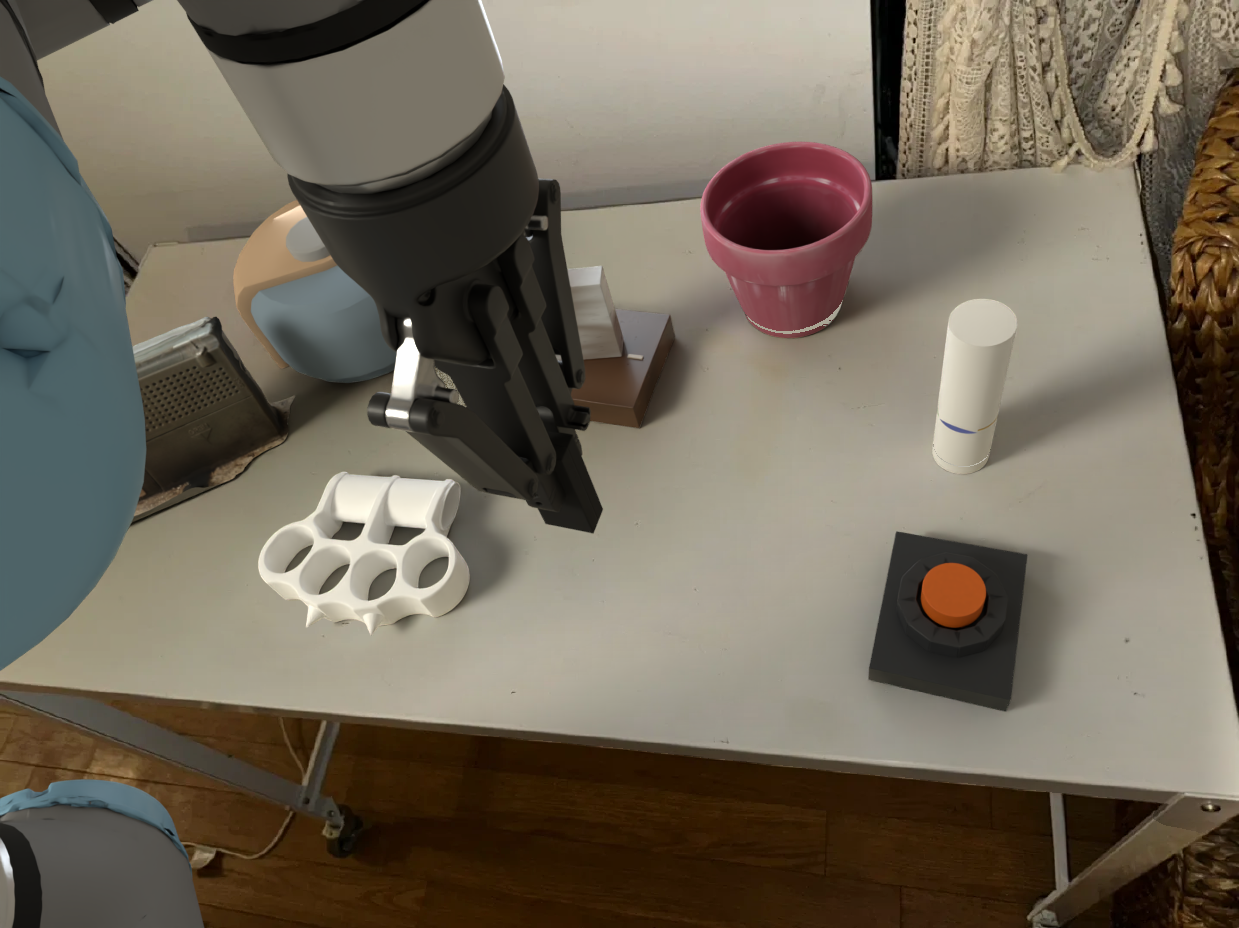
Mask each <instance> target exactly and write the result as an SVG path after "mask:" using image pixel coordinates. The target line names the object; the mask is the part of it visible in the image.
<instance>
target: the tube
mask: <svg viewBox="0 0 1239 928" xmlns="http://www.w3.org/2000/svg"><path fill="white" fill-rule="evenodd" d="M1017 328H1018V318H1017V316H1016V314H1015V312H1014V311H1013V310H1012V309H1011V308H1010V307H1009V306H1008V305H1006V304H1004V303H1003V302H1001V301H998V300H994V299H991V298H974V299H969V300H966V301H964V302H961V303H959V304H958V305H957V306H956V307H955V308H953V309H952V311H951V312H950V314H949V316H948V321H947V328H946V337H945V345H944V353H943V361H942V367H941V377H940V385H939V393H938V401H937V409H936V417H935V425H934V432H933V439H932V445H933V444H934V447H933V446H932V448H931V449H932V450H931V453H932V454H931V455H932V457H933V459H934V461H935V463H936V464H937V465H938V466H939V467H940V468H941V469H943V470H945V471H947V472H949V473H952V474H955V475H956V474H957V475H968V474H969V475H970V474H973V473H976V472H978V471H979V470H981V469H983V468H984V467H985V465H987V464H988V461H989V459H990V455H991V450H990V449H992V444H993V440H994V435H995V431H996V426H997V423H998V422H997V421H998V416H999V413H1000V412H999V411H1000V407H1001V403H1002V398H1003V394H1004V389H1005V385H1006V379H1007V375H1008V370H1009V365H1010V361H1011V358H1012V357H1011V356H1012V351H1013V348H1014V347H1013V346H1014V342H1015V339H1016V333H1017ZM934 449H935V450H934ZM935 451H936V452H935ZM989 452H990V453H989ZM936 453H937V454H936ZM988 454H989V455H988ZM937 455H938V456H939V457H940V458H942V459H943V460H944V461H946V462H948V463H951V464H954V465H957V466H953V465H950V464H948V463H946V462H944V461H943V460H941V459H940V458H939V457H938V456H937ZM987 455H988V456H987ZM986 457H987V458H986ZM984 458H986V459H985V460H984V461H982V460H983V459H984ZM980 461H982V462H981V463H979V462H980ZM976 463H979V464H977V465H974V464H976ZM970 465H974V466H970ZM958 466H970V467H958Z"/></svg>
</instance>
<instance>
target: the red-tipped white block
mask: <svg viewBox="0 0 1239 928" xmlns="http://www.w3.org/2000/svg"><path fill="white" fill-rule="evenodd" d="M567 270H568V276H569V281H570V287H571V292H572V298H573V304H574V309H575V315H576V321H577V326H578V332H579V337H580V343H581V349H582V354H583V360H586V359H598V358H610V357H621V356H622V351H623V340H624V338H623V335H622V331H621V328H620V324H619V321H618V318H617V314H616V311H615V309H616V307H615V303H614V301H613V297H612V294H611V289H610V287H609V284H608V281H607V276H606V273H605V269H604V266H603V265H595V266H586V267H577V268H576V267H575V268H567ZM556 358H557V360H559V361H562V360H561V355H556Z"/></svg>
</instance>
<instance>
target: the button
mask: <svg viewBox="0 0 1239 928" xmlns="http://www.w3.org/2000/svg"><path fill="white" fill-rule="evenodd" d="M985 598H986V588H985V584H984V582H983V580H982V578H981V577H980V576H979V575H978V574H977V573H976V572H975V571H974V570H973V569H971V568H969V567H967V566H965V565H962V564H958V563H945V564H941V565H938V566H936V567H934V568H933V569H931V570H930V571H929V572H928V573H927V575H926V576H925V578H924V580H923V585H922V592H921V604H922V607H923V609H924V611H925V613H926V614H927V615H928V616H929V618H931V619H932V620H933V621H935V622H936V623H938V624H940V625H943V626H946V627H951V628H958V627H964V626H967V625H969V624H971V623H973V622H974V621H975V620H976V619H977V618H978V617H979V616H980V614H981V612H982V609H983V605H984V602H985Z"/></svg>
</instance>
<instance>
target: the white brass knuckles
mask: <svg viewBox="0 0 1239 928" xmlns="http://www.w3.org/2000/svg"><path fill="white" fill-rule="evenodd" d="M461 490H462V489H461V484H460V483H459V482H458V481H454V479H452V478H451V479H450V478H446V479H445V480H437V479H435V480H434V479H432V480H431V479H423V478H408V477H406V478H405V477H401V476H400V475H396V474H395V475H394V474H393V475H392V476H379V475H364V474H350V473H349V472H347V471H340V472H339V473H336V474H334V475H333V476H332V477H331V478H330V479H329V481H328V482H327V484H326V486H325V487H324V490H323V493H322V495H321V497H320V500H319V501H318V504H317V507H316V509H315V510H314V511H313V512H312V513H310V514H309V515H308V516H307V517H306V518H304V519H302V520H298V521H293V522H291V523H288V524H286V525H284V526H282V527H281V528H278V530H276V531H275V532H274V533H273V534H272V535H271V536H270V537H269V538H268V539H267V540H266V542H265V543H264V545H263V546H262V548H261V551H260V553H259V556H258V563H257V567H258V573H259V576H260V577H261V579H262V580H263V581H264V582H265V584H267V585H268V586H269V587H270V588H271V589H272V590H273V591H275V592H276V593H277V594H278V595H279V596H280V597H281V598H282V599H283V600H285V601H291V600H300V601H301V602H302V603H304V604H305V606H307V615H306V623H305V628H306V629H307V628H309V627H311V626H312V625H313V624H316V623H317V622H318V621H320V620H323V619H325V620H328V621H330V622H332V623H335V624H336V623H339V622H342V621H347V620H355V621H359V622H361V623H363V624H365V626H366V628H367V630H368V632H369V635H370V637H372V636H373V634H375V632H376V630H377V629H378V628H379V627H380V626H387V625H393V624H395V623H397V622H398V621H399V620H401V619H403V618H406V617H408V616H412V615H427V616H429V617H432V618H439V617H441V616H444V615H445V614H448V613H449V612H451V611H452V610H453V609H454V608H456V606H458V605H459V604H460V603H461V601H462V600H463V598H464V597H465V595H466V593H467V591H468V588H469V585H470V579H471V576H470V574H471V573H470V568H469V566H468V565H469V564H468V563H467V561H466V559H465V558H464V557H463V556H462V554H461V553H460V551H459V550H458V549H457V547H456V546H455V544H454V543H453V541H452V540H451V539H449V538H448V535H449V532H450V529H451V527H452V525H453V522H454V521H455V518H456V516H457V513H458V510H459V507H460V501H461ZM344 522H346V523H355V524H356V523H357V524H364V526H363V528H362V530H361V533H360V534H359V536H358V537H356V538H354V539H352V540H346V539H345V540H344V539H334V538H333V536H334V535H336V533H338V532H339V531H340V530H341V528H342V526H343V524H344ZM395 527H401V528H414V529H423V530H424V531H422V533H421V534H418V535H416V536H414V537H413V538H412V539H410V540H409V541H408V542H407V543H405V544H402V545H399V544H398V545H397V544H389V543H390V541H391V538H392V535H393V533H394V530H395ZM310 546H311V549H310V551H309V552H308V554H307V555H306V556H305V557H304V559H303V560H302V561H301V562H300V563H299V564H298V565H297V566H296V567H294V568H293V569H291V570H289V571H286V570H287V569H288V566H289V565H290V563H291V562H292V561H293V560H294V558H296V556H297V555H298V554H299V553H300V552H301V551H302V550H304V549H306V548H308V547H310ZM441 558H448V567H447V570H446V572H445V574H444V575H443V577H442V578H441V579H439V581H437V582H436V583H434V584H432V585H430V586H428V587H423V588H419V584H420V583H419V582H420V581H419V580H420V576H421V574H422V572H423V570H424V568H425V567H426V566H427V565H428V564H430V563H431V562H433V561H434V560H437V559H441ZM346 565H349V566H348V569H347V570H346V573H345V574H344V575H343V577H341V579H340V581H339V582H338V583H337V584H336V585H335V586H334V587H333V588H332V589H330V590H329V591H326V592H324V593H320V591H321V589H322V587H323V585H324V584H325V583H326V581H327V580H328V579H329V577H330V576H331V575H332V573H334V572H335V571H336V570H337V569H339V568H341V567H343V566H346ZM393 569H396V574H395V581H394V582H393V585H392V586H391V588H390V589H389V590H388V591H386V593H385V594H383V595H382V596H379V597H377V598H375V599H371V600H370V599H369V595H370V594H369V593H370V588H371V585H372V584H373V582H374V581H375V580H376V578H377V577H378V576H379V575H381V574H383V573H384V572H386V571H388V570H393Z"/></svg>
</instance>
